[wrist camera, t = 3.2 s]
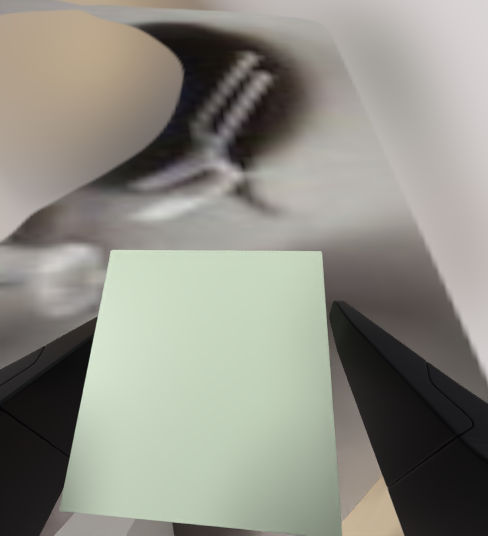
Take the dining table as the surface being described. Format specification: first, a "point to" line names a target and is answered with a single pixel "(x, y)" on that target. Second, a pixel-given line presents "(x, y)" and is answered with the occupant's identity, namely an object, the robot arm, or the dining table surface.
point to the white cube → (113, 526)
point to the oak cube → (373, 515)
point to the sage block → (209, 394)
